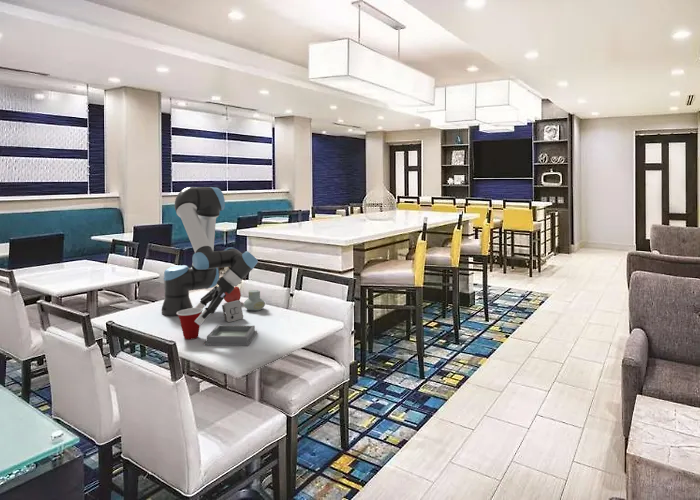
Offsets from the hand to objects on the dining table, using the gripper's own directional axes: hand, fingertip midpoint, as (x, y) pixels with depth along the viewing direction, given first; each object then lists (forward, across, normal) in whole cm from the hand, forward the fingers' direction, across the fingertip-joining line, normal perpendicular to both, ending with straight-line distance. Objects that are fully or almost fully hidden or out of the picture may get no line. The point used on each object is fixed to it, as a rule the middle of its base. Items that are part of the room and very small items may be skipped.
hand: (194, 319), depth 211 cm
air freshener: (-19, +36, -31) cm, 51 cm away
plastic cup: (+7, +1, -5) cm, 9 cm away
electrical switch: (-9, +21, -21) cm, 31 cm away
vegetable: (-14, +56, -26) cm, 63 cm away
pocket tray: (-4, -8, -16) cm, 18 cm away
